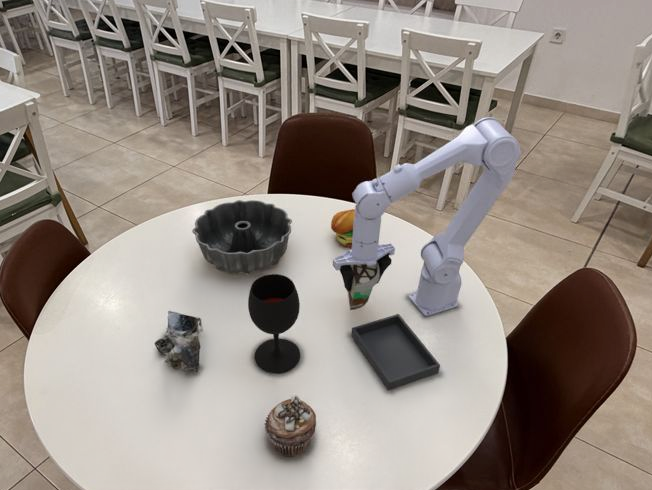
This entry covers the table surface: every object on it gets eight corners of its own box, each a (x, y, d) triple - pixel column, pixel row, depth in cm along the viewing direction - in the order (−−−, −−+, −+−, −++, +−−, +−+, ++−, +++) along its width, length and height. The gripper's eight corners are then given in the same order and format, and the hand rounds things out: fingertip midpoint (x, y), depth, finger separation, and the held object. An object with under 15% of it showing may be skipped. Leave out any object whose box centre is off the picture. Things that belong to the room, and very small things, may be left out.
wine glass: (266, 380, 106) (259, 312, 92) (246, 349, 113) (237, 281, 99) (308, 362, 109) (308, 294, 95) (287, 333, 116) (284, 265, 102)
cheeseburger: (369, 252, 138) (362, 221, 131) (332, 254, 142) (324, 224, 136) (374, 231, 145) (369, 201, 138) (339, 234, 149) (332, 205, 142)
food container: (376, 314, 115) (384, 286, 107) (350, 314, 115) (356, 285, 107) (370, 276, 123) (377, 246, 115) (345, 275, 123) (351, 246, 115)
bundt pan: (264, 219, 152) (262, 189, 145) (311, 263, 135) (311, 232, 128) (184, 247, 142) (177, 217, 135) (223, 298, 126) (218, 266, 119)
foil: (219, 316, 116) (194, 329, 101) (214, 360, 118) (188, 379, 104) (173, 307, 118) (142, 318, 103) (168, 350, 120) (137, 367, 106)
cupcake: (291, 409, 100) (290, 377, 93) (326, 439, 95) (327, 408, 88) (255, 438, 96) (251, 407, 89) (289, 471, 91) (288, 440, 84)
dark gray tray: (397, 321, 118) (398, 313, 116) (438, 373, 106) (440, 365, 104) (351, 336, 115) (351, 327, 113) (387, 390, 103) (389, 382, 101)
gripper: (343, 254, 103) (340, 303, 112) (404, 238, 106) (397, 287, 116) (329, 236, 107) (327, 285, 117) (388, 222, 111) (382, 269, 120)
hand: (361, 284), depth 116 cm, fingers closed on food container, 7 cm apart
